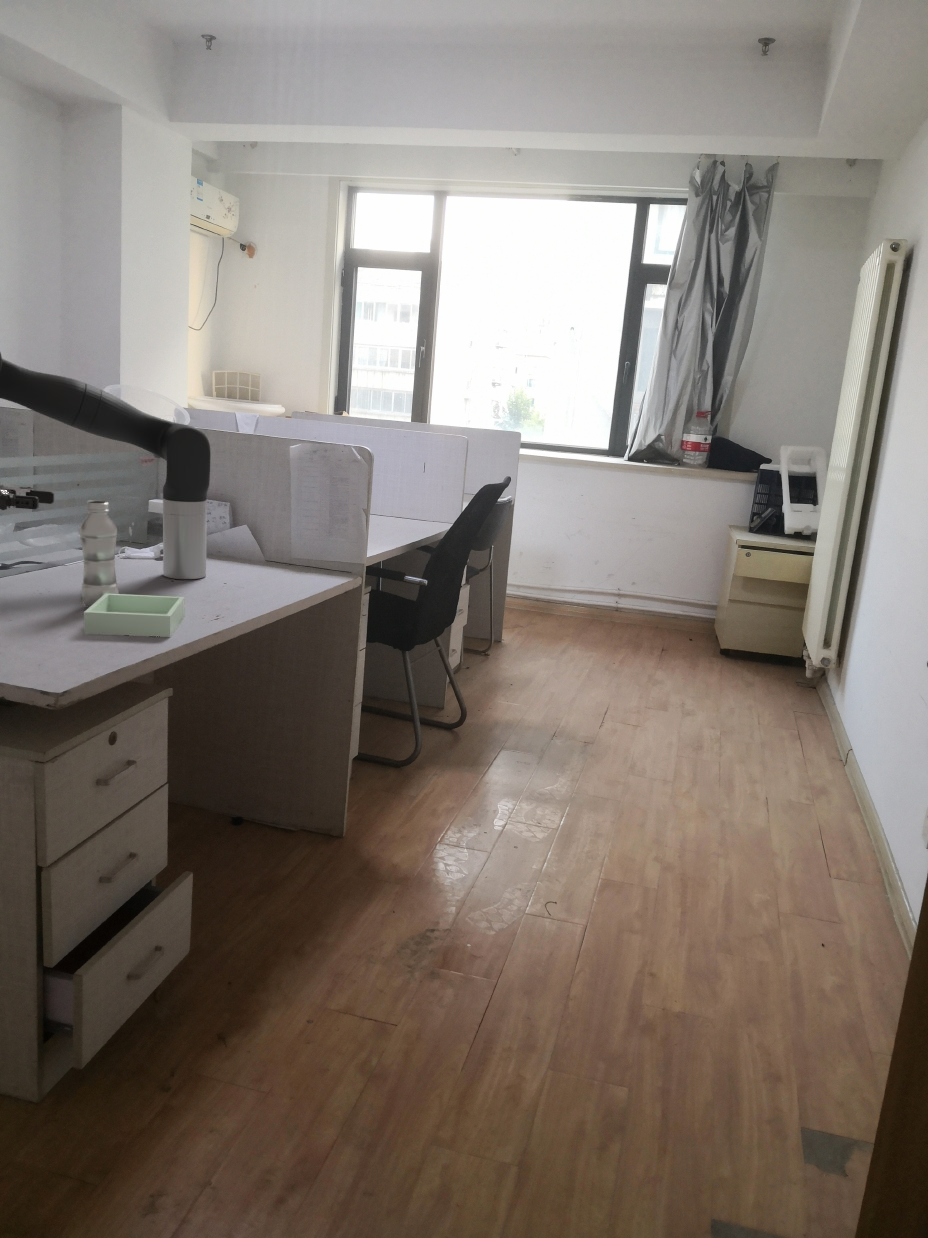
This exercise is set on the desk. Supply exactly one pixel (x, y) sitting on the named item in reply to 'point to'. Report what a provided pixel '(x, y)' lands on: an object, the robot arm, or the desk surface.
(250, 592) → the desk surface
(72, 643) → the desk surface
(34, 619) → the desk surface
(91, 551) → the plastic bottle
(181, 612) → the green tray
